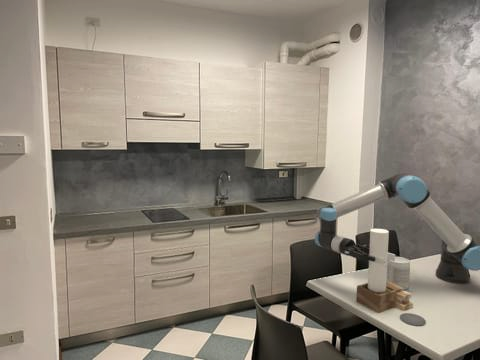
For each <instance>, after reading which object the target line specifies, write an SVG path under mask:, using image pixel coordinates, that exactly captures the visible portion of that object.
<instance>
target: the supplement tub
mask: <svg viewBox="0 0 480 360" xmlns="http://www.w3.org/2000/svg"><path fill="white" fill-rule="evenodd" d="M410 262H411V261H410V260H409V259H408V258H406V257H401V256H395V261H391V260H388V259H387V278H386V281H389V282H391V283H393V284H395V285H397V286H400V287H402V288H404V291H406V292H409V291H410V290H409V288H410V270H411V263H410Z"/></svg>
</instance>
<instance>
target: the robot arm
mask: <svg viewBox="0 0 480 360" xmlns="http://www.w3.org/2000/svg"><path fill="white" fill-rule="evenodd" d="M427 187H428V186H427V184H426V183H425V181H424V180H423V179H421V178H419V177H418V176H415V175H411V174H410V175H409V174H407V173H396V174H394V175H393V176H390V177H388V178H385V179H383V180H381V181H378V184H376V185H374V186H372V187H369V188H366V189H364V190H362V191H360V192H357V193H355V194H353V195H350V196H348V197H345V198H343V199H339V200H338V201H336V202H334V203H331V204H329V205H326V206H325V205H324V206H323V205H321V206H320V207H318V209H317V211H316V216H317V220H318V221H319V230H318V231H317V232H316V234H315V236H314V242H315V244H316V245H317V246H318V247H321V248H323V249H326V250H329V251H333V252H335V253H337V254H342V255H344V256H348V257H351V258H354V259H356V260H359V261H362V262H363V261H364V262H365V263H369V261H372V262H375V263H378V264H381V265H384V258H382V257H378V256H375V255H372V254H369V249H370V245H368V244H365V243H363V244H362V245H361V244H358V243H356V242H355V240H353V239H351V238H347V237H345V236H341V235H337V219H338V218H340V217H343V216H344V215H347V214H350V213H352V212H355V211H357V210H361V209H362V208H364V207H367V206H369V205H372V204H374V203H377V202H380V201H382V200H386V201H387V200H390V199H393V198H399V199H400V200H401V201H402V202H403V204H405V206H406V207H407V208H408V209H410V210H414V211H416V213H417V214H418V215H419V216H420V217H421V218H422V219H423V220H424V221H425V222H426V224H428V226H429V227H431V229H432V230H433V231H434V232H435V233H436V234H437V235H438V237H439V238H440V239H441V249H440V251H441V252H440V261H439V263H438V265H437V268H436V269H435V276H436V278H438V279H440V280H442V281H446V282H449V283H454V284H468V283H470V282H471V273H470V271H473V272H474V271H475V272H477V271H480V244H479V243H477V242H476V240H475V239H474V237H472V236H471V235H470V234H468V233H463V232H462V230H461V229H460V228H459V227H458V226H457V225H456V224H455V223H454V222H453V220H452V219H450V217H449V216H448V215H447V214H446V213H445V212H444V211H443V210H442V209H441V207H439V205H438V204H437V203H436V202H435V200H433V199H432V197H431V194H432V193H431V191H430V190H429V189H428V188H427ZM395 257H396V254H394V253H391V252H388V258H387V261H388V260H391V261H395Z"/></svg>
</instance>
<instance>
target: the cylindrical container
mask: <svg viewBox="0 0 480 360" xmlns="http://www.w3.org/2000/svg"><path fill="white" fill-rule="evenodd" d="M369 231H370V232H369V246H370V249H369V254H372V255H375V256H378V257H382V258H384V265H381V264H378V263H375V262H372V261H369V260H368V271H367V272H368V274H367V276H368V277H367V283H368V289H369V290H371V291H374V292H385V291H386V281H387V261H388V259H387V258H388V253H389V238H390V237H389V235H390V231H389V230H387V229H385V228H370V230H369ZM369 254H368V255H369Z"/></svg>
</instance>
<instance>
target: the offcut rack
mask: <svg viewBox="0 0 480 360" xmlns="http://www.w3.org/2000/svg"><path fill="white" fill-rule="evenodd" d="M412 296H413V295H412V293H411V292H409V291H408V292H406V291H404V288H402V287H400V286H397V285H395V284H393V283H391V282H389V281H387V280H386V291H385V292H374V291H371V290H369V289H368V282H365V283H362V284H358V285H356V297H355V302H357V303H358V304H361V305H362V306H364V307H366V308H368V309H370V310H371V311H374V312H376V313H382V312H385V311H387V310H390V309H394V308H396V309H399V310H401V311H403V312H404V311H407V310H410V309H413V308H414V303H413V302H412V301H410V299H411V298H412Z"/></svg>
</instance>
